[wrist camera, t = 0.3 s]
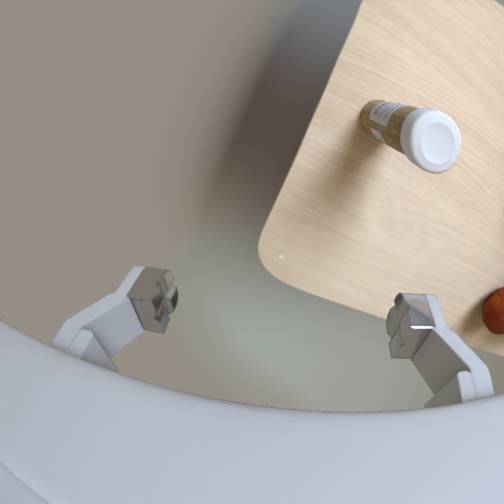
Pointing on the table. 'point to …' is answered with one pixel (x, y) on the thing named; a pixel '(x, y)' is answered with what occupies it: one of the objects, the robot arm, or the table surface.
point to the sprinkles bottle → (414, 133)
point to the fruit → (495, 312)
